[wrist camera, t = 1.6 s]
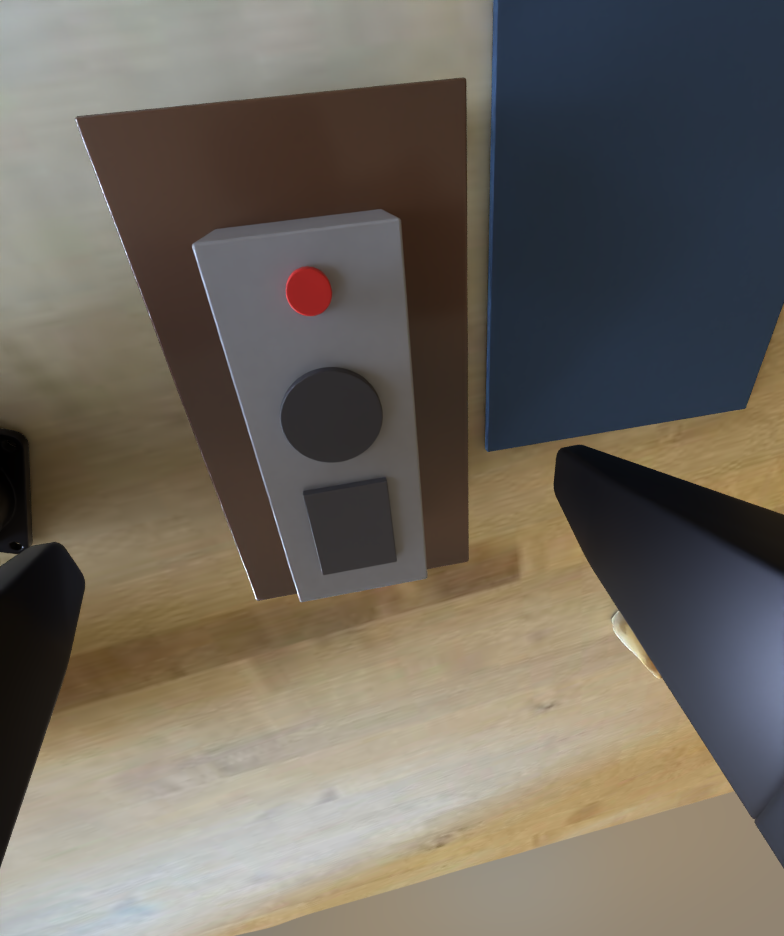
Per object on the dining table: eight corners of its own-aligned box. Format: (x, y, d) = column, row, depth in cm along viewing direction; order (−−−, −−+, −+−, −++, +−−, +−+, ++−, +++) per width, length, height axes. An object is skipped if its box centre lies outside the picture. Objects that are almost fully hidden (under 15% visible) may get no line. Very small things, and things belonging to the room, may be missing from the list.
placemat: (739, 405, 25) (745, 408, 24) (484, 448, 23) (487, 452, 23) (957, -212, 14) (973, -221, 13) (496, -187, 12) (501, -197, 12)
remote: (412, 527, 18) (429, 585, 16) (300, 546, 18) (299, 610, 15) (382, 208, 12) (404, 218, 10) (212, 229, 12) (187, 245, 9)
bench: (438, 488, 24) (469, 561, 20) (265, 518, 24) (256, 601, 19) (419, 104, 16) (467, 77, 11) (143, 132, 15) (72, 116, 10)
